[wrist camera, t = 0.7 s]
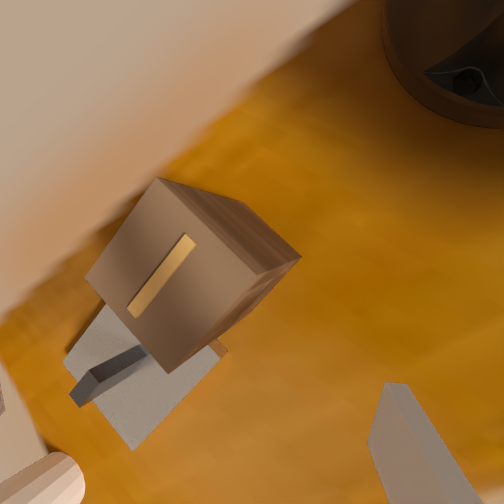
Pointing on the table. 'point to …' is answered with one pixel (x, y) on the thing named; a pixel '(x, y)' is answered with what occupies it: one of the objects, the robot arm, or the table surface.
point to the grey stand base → (131, 377)
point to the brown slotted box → (187, 269)
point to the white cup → (45, 482)
